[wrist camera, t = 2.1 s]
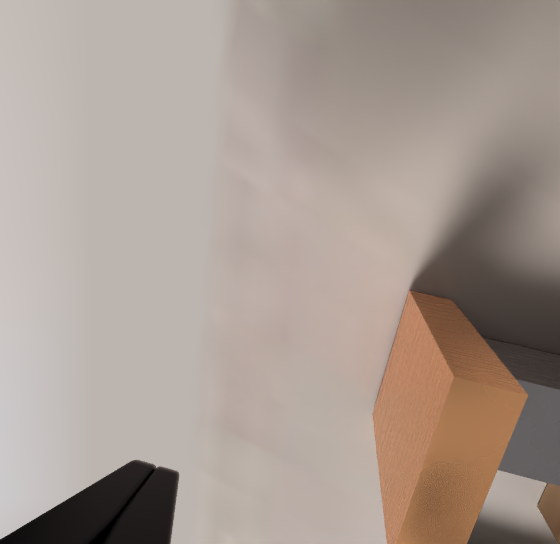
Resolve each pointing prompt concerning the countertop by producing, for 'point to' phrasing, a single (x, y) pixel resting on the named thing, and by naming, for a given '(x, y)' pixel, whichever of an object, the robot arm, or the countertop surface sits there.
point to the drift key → (458, 421)
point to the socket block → (551, 508)
